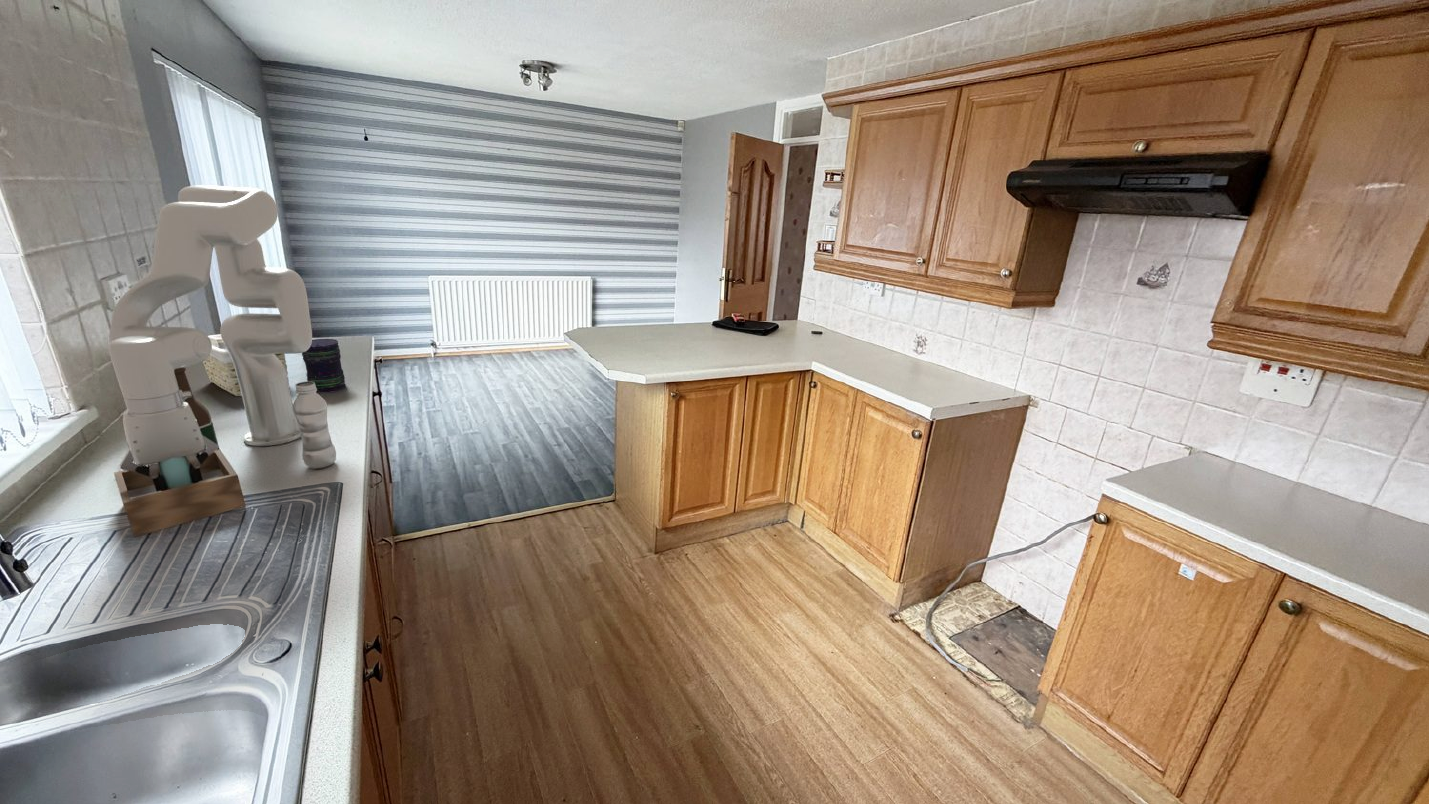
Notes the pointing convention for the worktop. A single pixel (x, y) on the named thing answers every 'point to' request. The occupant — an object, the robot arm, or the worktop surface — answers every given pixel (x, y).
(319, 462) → the plastic bottle
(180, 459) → the peg
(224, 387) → the storage basket
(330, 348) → the storage jar
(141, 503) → the box
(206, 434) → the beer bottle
